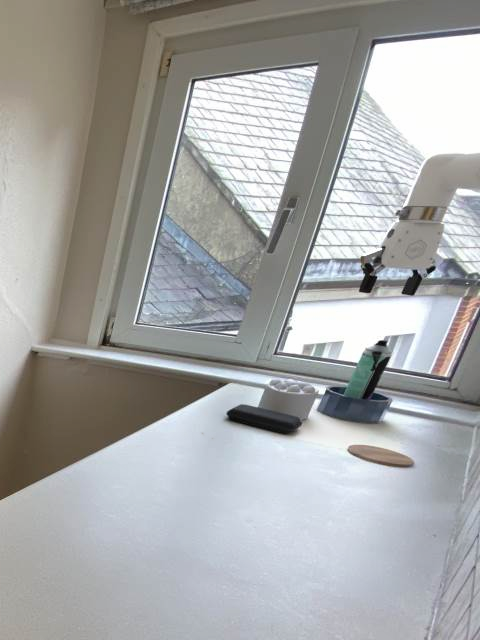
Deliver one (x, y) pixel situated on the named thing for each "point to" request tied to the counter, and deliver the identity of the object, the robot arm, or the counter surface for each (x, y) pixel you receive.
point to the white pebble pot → (289, 397)
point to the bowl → (353, 406)
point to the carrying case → (264, 418)
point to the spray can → (369, 371)
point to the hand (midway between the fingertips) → (385, 293)
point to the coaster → (381, 455)
